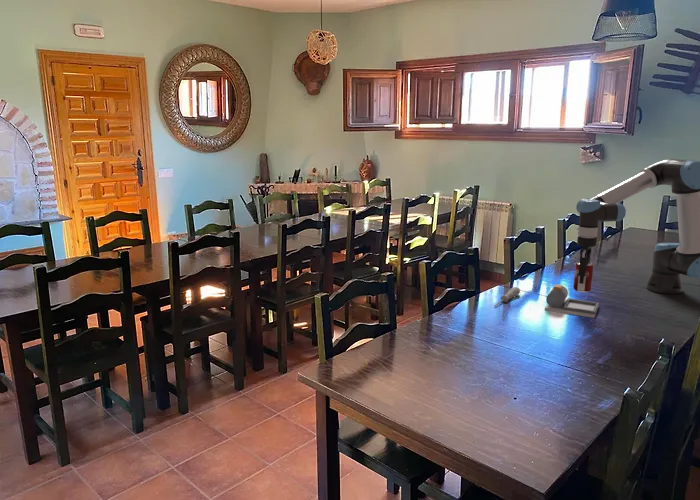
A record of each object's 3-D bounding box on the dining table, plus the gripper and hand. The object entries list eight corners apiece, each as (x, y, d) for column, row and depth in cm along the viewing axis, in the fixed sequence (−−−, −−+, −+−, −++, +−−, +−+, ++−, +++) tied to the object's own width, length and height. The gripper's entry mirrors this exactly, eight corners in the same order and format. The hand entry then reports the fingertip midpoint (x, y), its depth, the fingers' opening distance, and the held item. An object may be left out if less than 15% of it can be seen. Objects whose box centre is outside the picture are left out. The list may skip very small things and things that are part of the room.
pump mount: (598, 306, 231) (601, 286, 229) (594, 317, 218) (596, 296, 216) (551, 299, 241) (553, 280, 239) (544, 309, 228) (546, 289, 226)
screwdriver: (490, 310, 234) (488, 301, 233) (513, 293, 252) (511, 285, 251) (500, 310, 231) (498, 301, 230) (522, 293, 249) (521, 285, 248)
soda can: (583, 293, 221) (586, 266, 218) (569, 289, 227) (571, 262, 224) (594, 291, 224) (597, 264, 221) (580, 286, 231) (583, 260, 228)
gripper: (581, 231, 230) (576, 280, 236) (573, 239, 214) (569, 292, 219) (599, 232, 227) (594, 282, 232) (593, 241, 210) (588, 295, 215)
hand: (582, 287), depth 226 cm, fingers closed on soda can, 7 cm apart
